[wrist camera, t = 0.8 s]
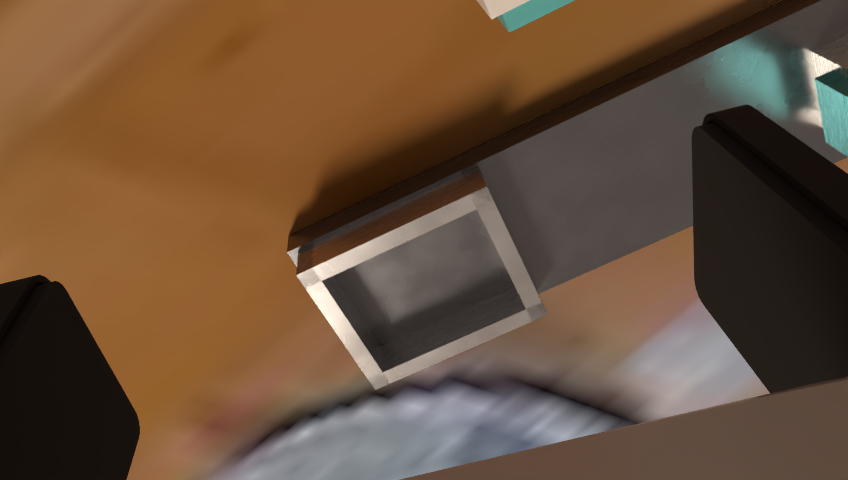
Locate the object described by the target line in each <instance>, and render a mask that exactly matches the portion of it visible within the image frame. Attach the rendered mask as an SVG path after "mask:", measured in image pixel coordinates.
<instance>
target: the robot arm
mask: <svg viewBox="0 0 848 480" xmlns="http://www.w3.org/2000/svg"><path fill="white" fill-rule="evenodd" d="M692 185H693V235H694V279H695V286H696V290H697V293H698V296H699V298H700V300H701V302H702V303H703V305H704V306H705V307H706V309H707V310H708V311H709V313H710V314H711V315H712V317H713V318H714V319H715V321H716V322H717V323H718V325H719V326H720V327H721V329H722V330H723V331H724V332H725V334H726V335H727V336H728V338H729V339H730V340H731V342H732V343H733V344H734V346H735V347H736V348H737V350H738V351H739V352H740V354H741V355H742V356H743V358H744V359H745V360H746V362H747V363H748V364H749V366H750V367H751V368H752V370H753V371H754V372H755V374H756V375H757V376H758V378H759V379H760V380H761V382H762V383H763V384H764V385H765V387H766V388H767V389H768V391H769V392H770V394H766V395H762V396H757V397H753V398H749V399H744V400H740V401H736V402H731V403H727V404H723V405H718V406H714V407H710V408H705V409H701V410H697V411H692V412H688V413H684V414H679V415H675V416H671V417H666V418H662V419H658V420H653V421H649V422H645V423H640V424H636V425H632V426H627V427H623V428H619V429H614V430H610V431H606V432H601V433H597V434H593V435H588V436H584V437H580V438H576V439H571V440H567V441H563V442H558V443H554V444H550V445H546V446H541V447H537V448H533V449H529V450H524V451H520V452H516V453H512V454H507V455H503V456H499V457H494V458H490V459H486V460H482V461H477V462H473V463H469V464H465V465H460V466H456V467H452V468H448V469H443V470H439V471H435V472H431V473H426V474H422V475H418V476H414V477H409V478H405V479H401V480H848V174H847V173H846V172H844V171H843V170H842V169H840V168H839V167H837V166H836V165H835V164H833V163H832V162H830V161H829V160H827V159H826V158H825V157H823V156H822V155H820V154H819V153H818V152H816V151H815V150H813V149H812V148H810V147H809V146H808V145H806V144H805V143H803V142H802V141H801V140H799V139H798V138H796V137H795V136H793V135H792V134H791V133H789V132H788V131H786V130H785V129H784V128H782V127H781V126H779V125H778V124H776V123H775V122H774V121H772V120H771V119H769V118H768V117H766V116H765V115H764V114H762V113H761V112H759V111H758V110H757V109H755V108H754V107H752V106H750V105H748V104H746V105H742V106H738V107H734V108H730V109H726V110H722V111H717V112H713V113H709V114H707V115H706V116H705V117H704V120H703V123H702V126H698V127H695V128H694V129H693V132H692ZM139 434H140V426H139V420H138V416H137V414H136V412H135V410H134V408H133V406H132V405H131V403H130V401H129V399H128V398H127V396H126V394H125V392H124V391H123V389H122V387H121V385H120V384H119V382H118V380H117V378H116V377H115V375H114V373H113V371H112V369H111V368H110V366H109V364H108V362H107V361H106V359H105V357H104V355H103V354H102V352H101V350H100V348H99V347H98V345H97V343H96V341H95V340H94V338H93V336H92V334H91V333H90V331H89V329H88V327H87V326H86V324H85V322H84V320H83V319H82V317H81V315H80V313H79V312H78V310H77V308H76V306H75V305H74V303H73V301H72V299H71V298H70V296H69V294H68V292H67V291H66V289H65V288H64V286H63V285H62V284H61V283H59V282H57V281H54V282H50V281H49V280H48V279H47V278H46V277H45V276H41V275H37V276H32V277H28V278H24V279H20V280H16V281H12V282H7V283H3V284H0V480H126V479H127V476H128V473H129V469H130V466H131V463H132V459H133V456H134V453H135V449H136V446H137V443H138V439H139Z"/></svg>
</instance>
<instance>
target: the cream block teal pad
mask: <svg viewBox="0 0 848 480" xmlns="http://www.w3.org/2000/svg"><path fill="white" fill-rule="evenodd" d="M477 1H478V3H479V4H480V5H481V6H482V8H483V9H484V10H485V12H486V13H487V14H488V15H489V17H490V18H491V19H494V18H496V17H497V18H498V19H499V20H500V22H501V23H502V24H503V25H504V27H505V28H506V29H507V30H508V32H511V31H513V30H515V29H517V28H520V27H522V26H524V25H526V24H528V23H530V22H532V21H534V20H536V19H538V18H540V17H542V16H544V15H546V14H548V13H550V12H552V11H554V10H556V9H558V8H560V7H562V6H564V5H566V4H568V3H570V2H572V1H574V0H477Z"/></svg>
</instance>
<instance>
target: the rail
mask: <svg viewBox="0 0 848 480" xmlns="http://www.w3.org/2000/svg"><path fill="white" fill-rule="evenodd" d="M746 104H748V105H750V106H752V107H754V108H755V109H757V110H758V111H759V112H761V113H762V114H764V115H765V116H766V117H768V118H769V119H771V120H772V121H774V122H775V123H776V124H778V125H779V126H781V127H782V128H784V129H785V130H786V131H788V132H789V133H791V134H792V135H793V136H795V137H796V138H798V139H799V140H801V141H802V142H803V143H805V144H806V145H808V146H809V147H810V148H812V149H813V150H815V151H816V152H818V153H819V154H820V155H822V156H823V157H825V158H826V159H827V160H829V161H830V162H832V163H835V162H838V161H840V160H842V159H844V158H847V157H848V0H785V1H783V2H781V3H779V4H776V5H774V6H772V7H770V8H768V9H766V10H764V11H762V12H760V13H757V14H755V15H753V16H751V17H749V18H747V19H745V20H743V21H741V22H738V23H736V24H734V25H732V26H730V27H728V28H726V29H724V30H722V31H720V32H717V33H715V34H713V35H711V36H709V37H707V38H705V39H703V40H701V41H698V42H696V43H694V44H692V45H690V46H688V47H686V48H684V49H682V50H679V51H677V52H675V53H673V54H671V55H669V56H667V57H665V58H663V59H661V60H658V61H656V62H654V63H652V64H650V65H648V66H646V67H644V68H642V69H639V70H637V71H635V72H633V73H631V74H629V75H627V76H625V77H623V78H621V79H618V80H616V81H614V82H612V83H610V84H608V85H606V86H604V87H602V88H599V89H597V90H595V91H593V92H591V93H589V94H587V95H585V96H583V97H580V98H578V99H576V100H574V101H572V102H570V103H568V104H566V105H564V106H562V107H559V108H557V109H555V110H553V111H551V112H549V113H547V114H545V115H543V116H540V117H538V118H536V119H534V120H532V121H530V122H528V123H526V124H524V125H521V126H519V127H517V128H515V129H513V130H511V131H509V132H507V133H505V134H503V135H500V136H498V137H496V138H494V139H492V140H490V141H488V142H486V143H484V144H481V145H479V146H477V147H475V148H473V149H471V150H469V151H467V152H465V153H463V154H460V155H458V156H456V157H454V158H452V159H450V160H448V161H446V162H444V163H441V164H439V165H437V166H435V167H433V168H431V169H429V170H427V171H425V172H422V173H420V174H418V175H416V176H414V177H412V178H410V179H408V180H406V181H404V182H401V183H399V184H397V185H395V186H393V187H391V188H389V189H387V190H385V191H382V192H380V193H378V194H376V195H374V196H372V197H370V198H368V199H366V200H363V201H361V202H359V203H357V204H355V205H353V206H351V207H349V208H347V209H345V210H342V211H340V212H338V213H336V214H334V215H332V216H330V217H328V218H326V219H323V220H321V221H319V222H317V223H315V224H313V225H311V226H309V227H307V228H305V229H302V230H300V231H298V232H296V233H294V234H292V235H290V236H289V237H288V248H287V253H288V254H289V256H290V257H291V259H292V260H293V262H294V263H295V265H296V266H297V273H296V275H297V277H298V278H299V280H300V281H301V283H302V284H303V286H304V287H305V288H306V290H307V291H308V293H309V294H310V296H311V297H312V299H313V300H314V302H315V303H316V304H317V306H318V307H319V309H320V310H321V312H322V313H323V315H324V316H325V318H326V319H327V320H328V322H329V323H330V325H331V326H332V328H333V329H334V331H335V332H336V333H337V335H338V336H339V338H340V339H341V341H342V342H343V344H344V345H345V347H346V348H347V349H348V351H349V352H350V354H351V355H352V357H353V358H354V360H355V361H356V363H357V364H358V365H359V367H360V368H361V370H362V371H363V373H364V374H365V376H366V377H367V378H368V380H369V381H370V383H371V384H372V386H373V387H374V389H375V390H376V389H379V388H381V387H383V386H385V385H388V384H390V383H392V382H395V381H397V380H399V379H401V378H404V377H406V376H408V375H411V374H413V373H415V372H417V371H420V370H422V369H424V368H427V367H429V366H431V365H433V364H436V363H438V362H440V361H443V360H445V359H447V358H449V357H452V356H454V355H456V354H459V353H461V352H463V351H465V350H468V349H470V348H472V347H475V346H477V345H479V344H481V343H484V342H486V341H488V340H491V339H493V338H495V337H497V336H500V335H502V334H504V333H507V332H509V331H511V330H513V329H516V328H518V327H520V326H523V325H525V324H527V323H529V322H532V321H534V320H536V319H539V318H541V317H543V316H545V315H548V314H547V312H546V310H545V307H544V305H543V303H542V300H541V298H540V296H539V293H541V292H544V291H546V290H548V289H550V288H553V287H555V286H557V285H559V284H562V283H564V282H566V281H568V280H571V279H573V278H575V277H578V276H580V275H582V274H584V273H587V272H589V271H591V270H593V269H596V268H598V267H600V266H602V265H605V264H607V263H609V262H611V261H614V260H616V259H618V258H621V257H623V256H625V255H627V254H630V253H632V252H634V251H636V250H639V249H641V248H643V247H645V246H648V245H650V244H652V243H654V242H657V241H659V240H661V239H663V238H666V237H668V236H670V235H673V234H675V233H677V232H679V231H682V230H684V229H686V228H688V227H691V226H693V185H692V132H693V129H694V128H695V127H698V126H702V123H703V120H704V117H705V116H706V115H707V114H709V113H713V112H717V111H722V110H726V109H730V108H734V107H738V106H742V105H746Z"/></svg>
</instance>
